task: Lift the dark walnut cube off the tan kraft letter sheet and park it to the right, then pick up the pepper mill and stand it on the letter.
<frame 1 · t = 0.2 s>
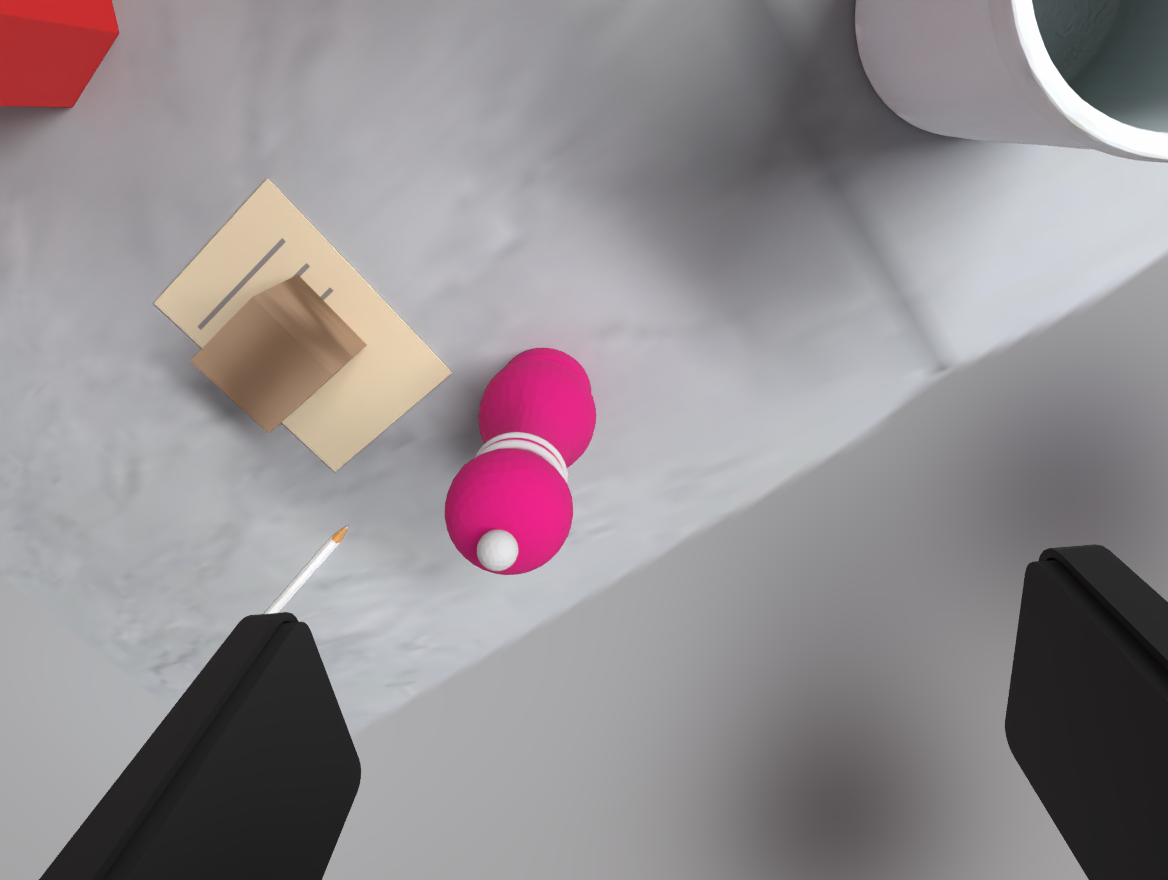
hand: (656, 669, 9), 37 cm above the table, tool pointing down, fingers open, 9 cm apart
letter: (305, 337, 47), on the table
pepper mill: (545, 390, 47), on the table
block: (303, 338, 46), resting on letter
pencil: (287, 592, 56), on the table
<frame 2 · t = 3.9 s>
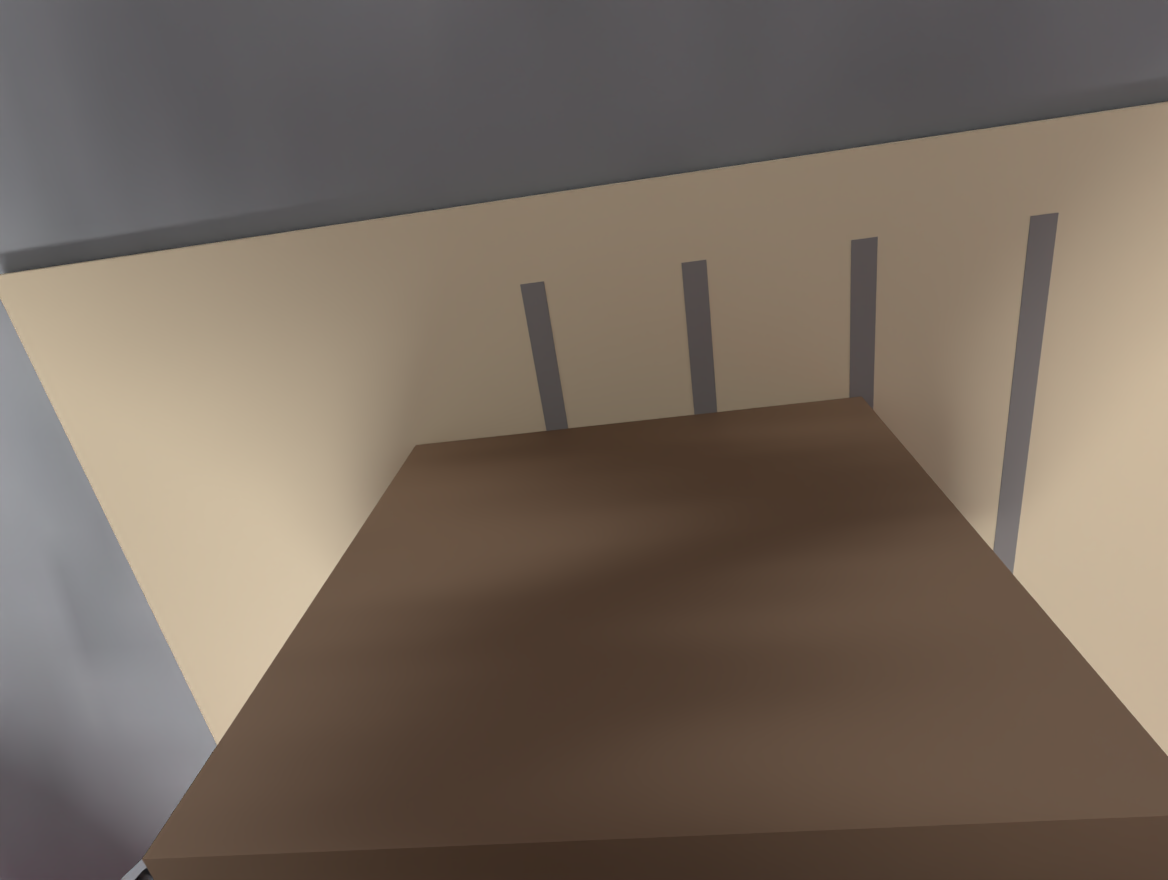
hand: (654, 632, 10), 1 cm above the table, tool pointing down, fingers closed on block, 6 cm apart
letter: (653, 594, 11), on the table
block: (653, 603, 11), resting on letter, touching gripper
when the fingers open (2 cm above the table, at t = 9.4 s): block drops 1 cm, on the table.
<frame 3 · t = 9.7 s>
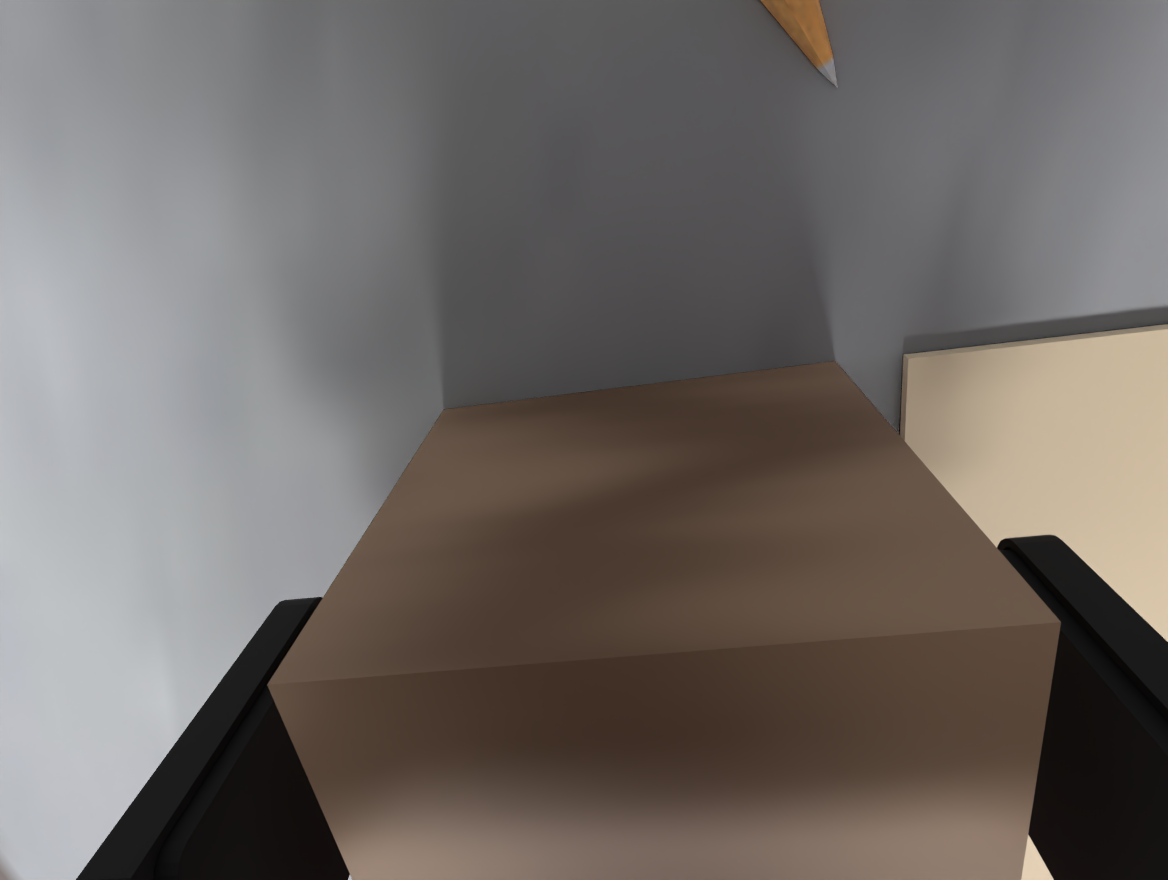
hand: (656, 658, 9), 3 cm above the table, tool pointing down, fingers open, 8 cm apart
block: (654, 548, 12), on the table
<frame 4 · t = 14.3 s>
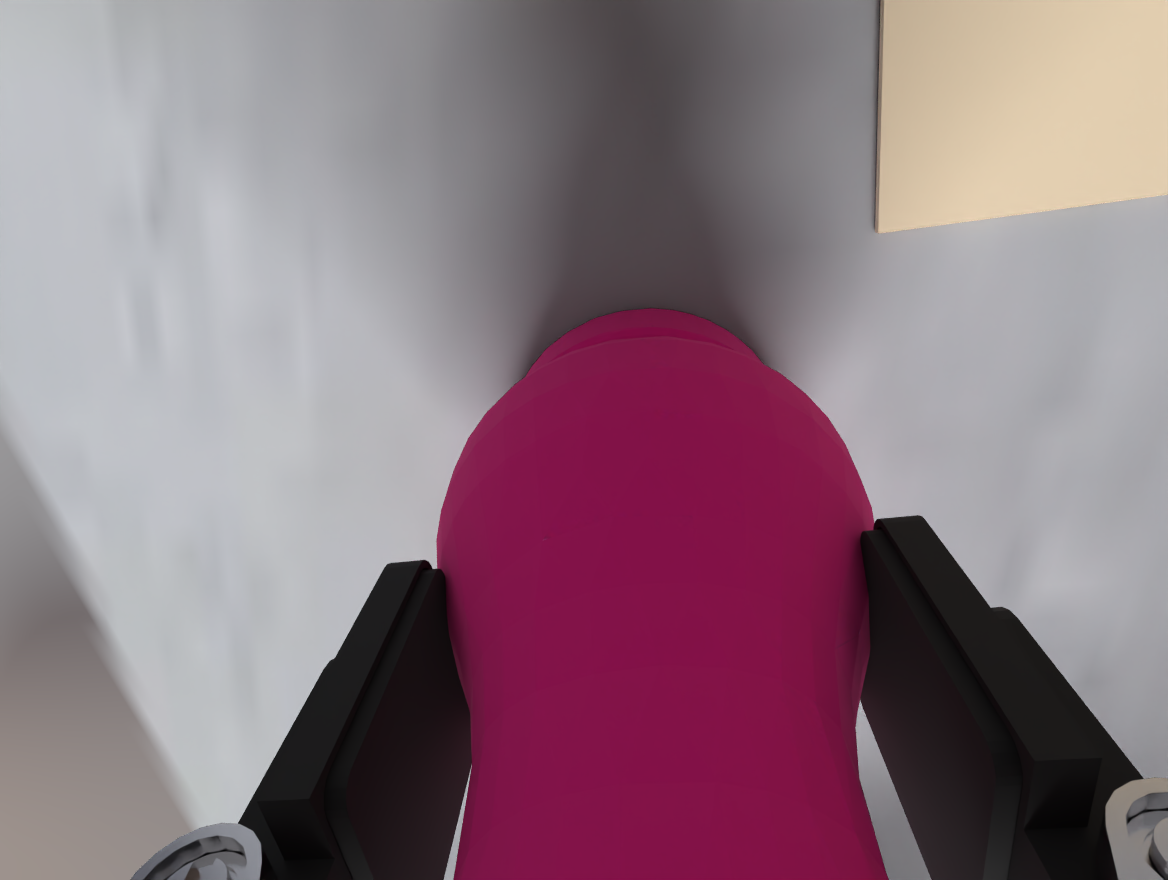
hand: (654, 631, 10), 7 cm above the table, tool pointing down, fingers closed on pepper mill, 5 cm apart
pepper mill: (645, 437, 16), on the table, touching gripper
when the fingers open (8 cm above the table, at t = 20.2 s): pepper mill stays where it is, resting on letter.
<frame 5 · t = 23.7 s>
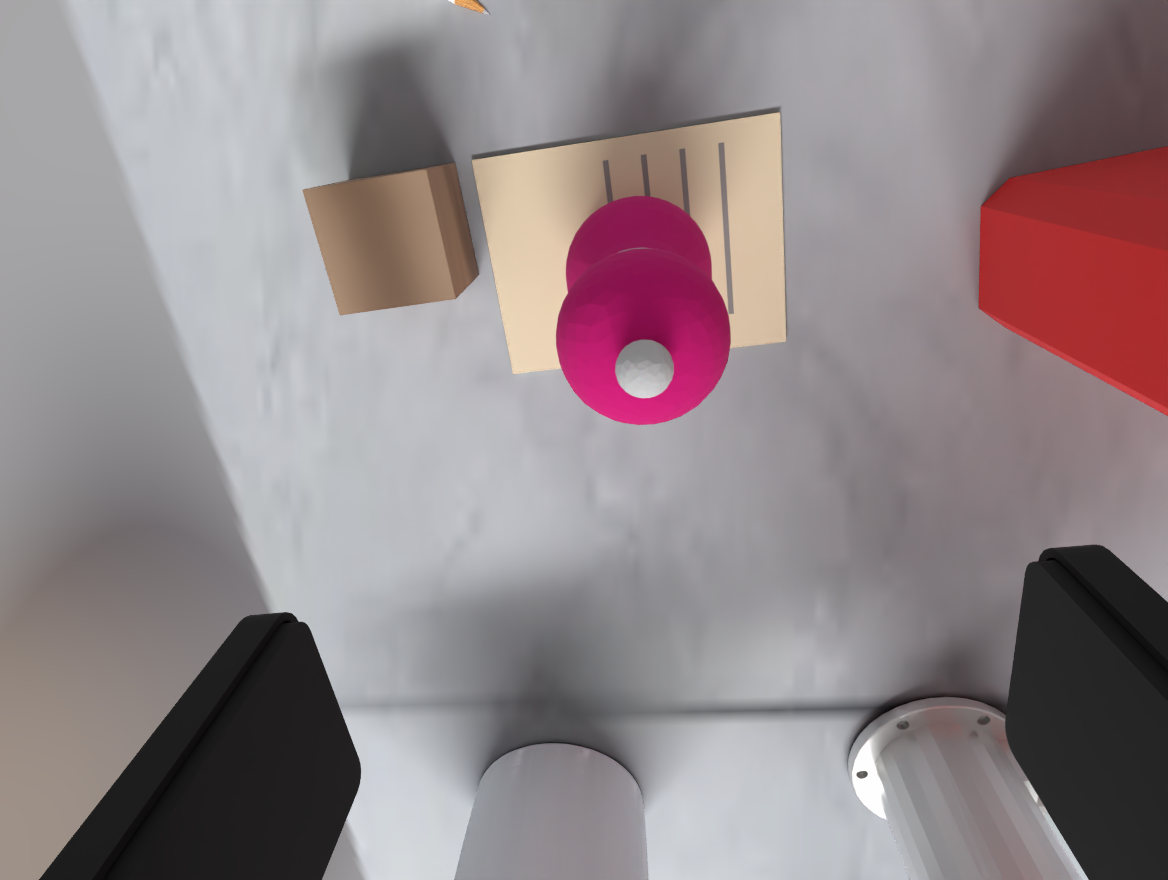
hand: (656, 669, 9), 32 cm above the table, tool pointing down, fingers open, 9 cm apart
letter: (635, 253, 39), on the table
pepper mill: (637, 257, 39), resting on letter
block: (415, 228, 39), on the table
utensil holder: (560, 800, 57), on the table
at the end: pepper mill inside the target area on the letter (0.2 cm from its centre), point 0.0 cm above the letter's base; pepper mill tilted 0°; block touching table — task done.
